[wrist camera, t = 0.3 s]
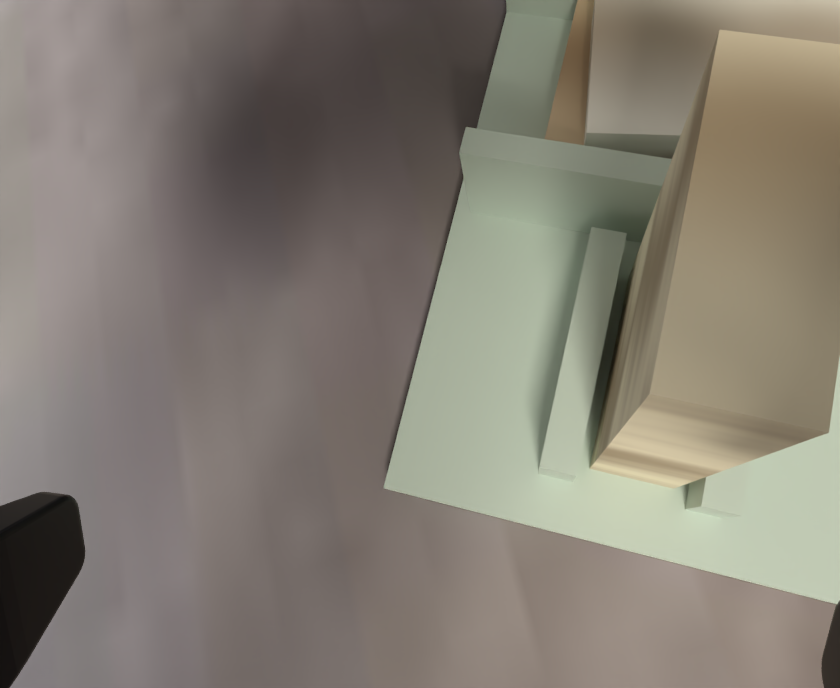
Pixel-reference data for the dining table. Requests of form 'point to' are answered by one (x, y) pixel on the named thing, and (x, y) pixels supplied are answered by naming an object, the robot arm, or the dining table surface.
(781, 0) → the white offcut
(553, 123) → the pine offcut
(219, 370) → the dining table surface
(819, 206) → the birch board
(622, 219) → the offcut rack
